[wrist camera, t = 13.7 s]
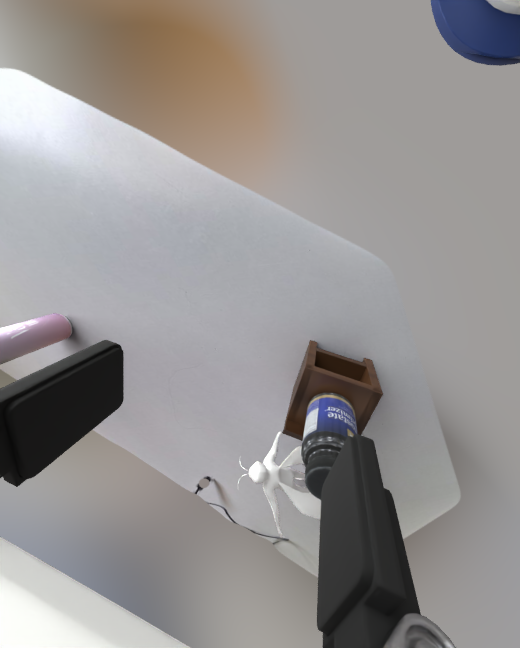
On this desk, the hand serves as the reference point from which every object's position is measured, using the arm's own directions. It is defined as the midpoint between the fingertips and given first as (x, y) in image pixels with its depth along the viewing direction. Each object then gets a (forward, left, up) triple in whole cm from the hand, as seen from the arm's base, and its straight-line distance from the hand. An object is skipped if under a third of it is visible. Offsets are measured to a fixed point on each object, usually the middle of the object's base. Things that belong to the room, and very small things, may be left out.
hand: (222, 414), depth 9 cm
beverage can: (+24, -48, -31) cm, 62 cm away
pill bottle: (+14, +9, -22) cm, 27 cm away
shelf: (+14, +9, -30) cm, 35 cm away
